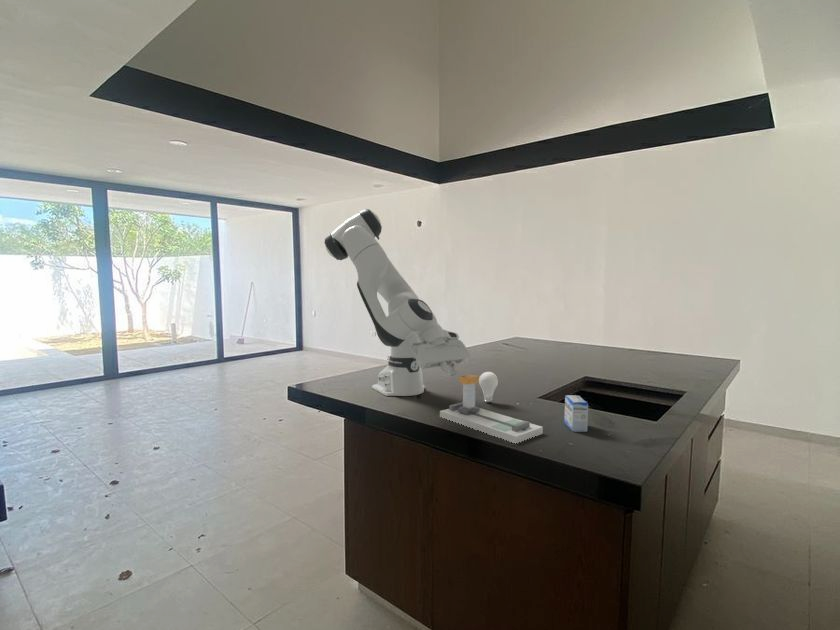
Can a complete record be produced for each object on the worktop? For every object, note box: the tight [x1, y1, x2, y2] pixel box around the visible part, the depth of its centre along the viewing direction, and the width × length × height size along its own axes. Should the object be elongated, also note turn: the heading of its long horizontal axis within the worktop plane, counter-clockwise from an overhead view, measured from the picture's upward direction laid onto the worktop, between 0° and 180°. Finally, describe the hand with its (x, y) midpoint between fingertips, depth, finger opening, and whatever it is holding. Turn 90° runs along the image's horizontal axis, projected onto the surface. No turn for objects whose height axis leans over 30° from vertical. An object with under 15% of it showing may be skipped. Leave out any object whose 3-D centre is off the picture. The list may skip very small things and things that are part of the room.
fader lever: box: [458, 373, 481, 415], centre depth 137 cm, size 4×6×11 cm
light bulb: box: [478, 371, 499, 404], centre depth 155 cm, size 7×7×11 cm
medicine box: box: [563, 394, 589, 433], centre depth 129 cm, size 8×4×9 cm, turn 178°
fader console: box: [439, 401, 544, 445], centre depth 132 cm, size 30×12×4 cm, turn 40°
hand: (453, 374), depth 140 cm, fingers closed
